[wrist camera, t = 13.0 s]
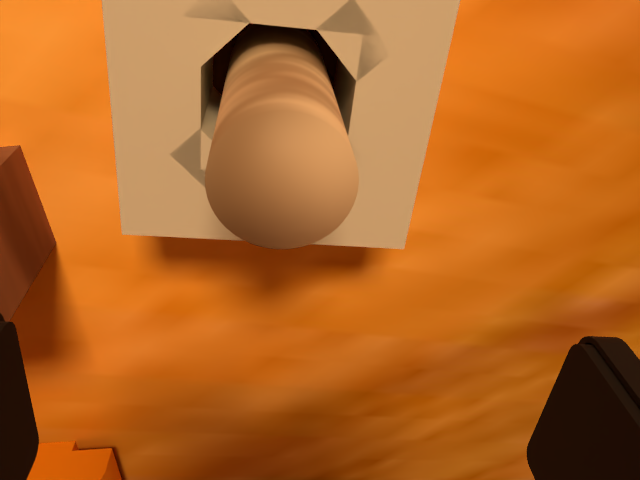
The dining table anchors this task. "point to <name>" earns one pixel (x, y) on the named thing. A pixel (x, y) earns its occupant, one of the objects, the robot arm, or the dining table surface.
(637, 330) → the dining table surface
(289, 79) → the birch dowel
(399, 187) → the bore block
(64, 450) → the bracket
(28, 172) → the walnut square bit
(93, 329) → the dining table surface
